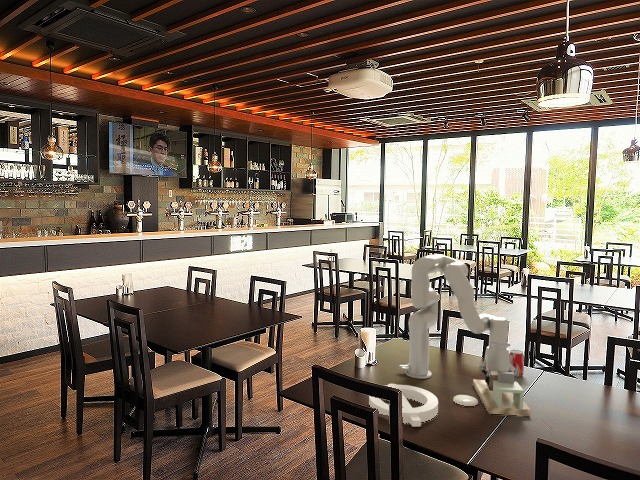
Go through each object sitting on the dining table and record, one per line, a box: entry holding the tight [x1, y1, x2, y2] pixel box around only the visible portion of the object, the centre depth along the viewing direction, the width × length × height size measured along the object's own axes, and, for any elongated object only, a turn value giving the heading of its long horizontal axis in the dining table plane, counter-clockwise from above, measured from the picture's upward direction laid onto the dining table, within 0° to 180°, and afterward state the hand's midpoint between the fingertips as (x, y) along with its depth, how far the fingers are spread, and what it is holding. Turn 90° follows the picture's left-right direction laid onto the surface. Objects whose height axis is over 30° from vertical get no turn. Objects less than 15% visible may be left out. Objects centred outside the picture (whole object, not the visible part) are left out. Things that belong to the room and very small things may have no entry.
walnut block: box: [489, 372, 498, 391], centre depth 210 cm, size 4×4×9 cm
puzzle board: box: [472, 378, 531, 417], centre depth 204 cm, size 16×30×3 cm, turn 174°
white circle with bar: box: [368, 383, 439, 428], centre depth 195 cm, size 28×28×5 cm
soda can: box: [509, 349, 525, 378], centre depth 233 cm, size 7×7×12 cm
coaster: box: [452, 394, 479, 407], centre depth 202 cm, size 10×10×1 cm
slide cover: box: [493, 371, 525, 410], centre depth 192 cm, size 9×9×12 cm
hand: (496, 384), depth 209 cm, fingers open, 6 cm apart
